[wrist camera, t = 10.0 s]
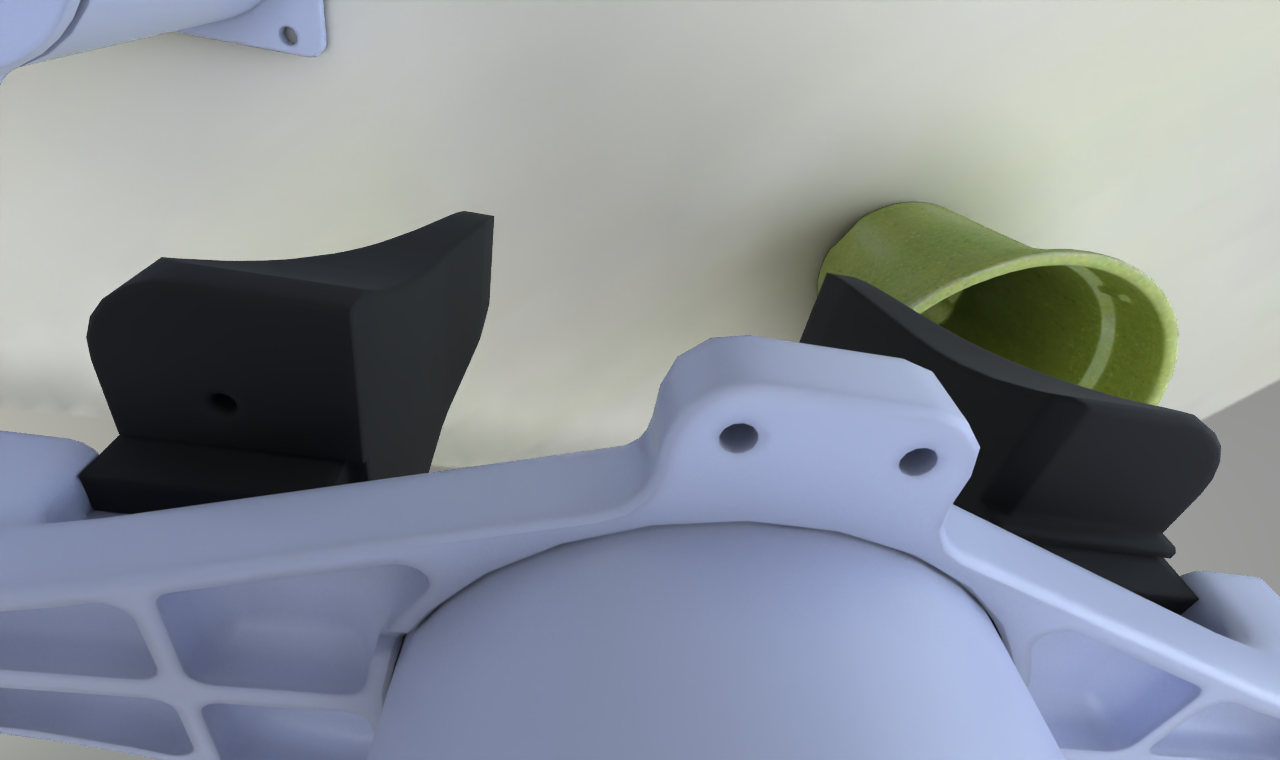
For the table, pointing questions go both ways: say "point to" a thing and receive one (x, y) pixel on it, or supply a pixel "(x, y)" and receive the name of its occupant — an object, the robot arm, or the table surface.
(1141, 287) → the plant pot
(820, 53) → the table surface
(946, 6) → the table surface
